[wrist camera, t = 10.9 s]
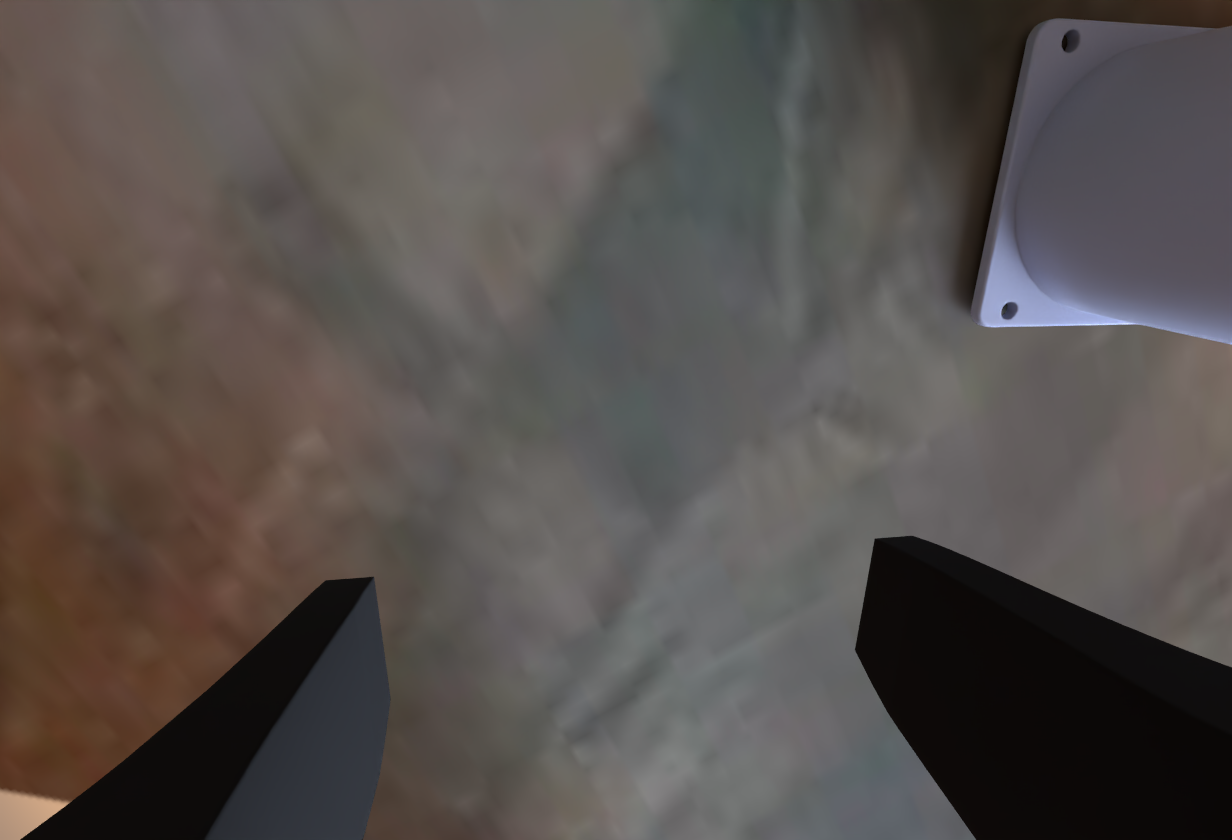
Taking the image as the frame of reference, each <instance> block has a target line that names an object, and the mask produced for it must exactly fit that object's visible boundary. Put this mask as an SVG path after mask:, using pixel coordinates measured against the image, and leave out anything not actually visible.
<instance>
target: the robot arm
mask: <svg viewBox="0 0 1232 840" xmlns="http://www.w3.org/2000/svg"><path fill="white" fill-rule="evenodd" d="M1064 35H1066V37H1067V39H1068V41H1067V47H1066V49H1065V51H1064V50H1063V48H1062V39H1063V37H1064ZM1006 303H1007V304H1008V308H1007V310H1006V313H1004V314H1003V315H1002V316H1001V310H1002V308H1003V306H1004V305H1005V304H1006ZM971 317H972V319H973V321H974V322H975V323H976V324H979V325H982V326H986V327H1024V326H1072V325H1121V324H1140V325H1145V326H1150V327H1154V328H1159V329H1163V330H1168V331H1172V332H1177V333H1181V334H1186V335H1191V336H1195V337H1200V338H1204V339H1209V340H1213V341H1218V342H1222V343H1227V344H1232V26H1228V27H1223V28H1219V29H1215V28H1200V27H1184V26H1169V25H1154V24H1138V23H1123V22H1108V21H1092V20H1077V19H1062V18H1056V19H1050V20H1047V21H1044V22H1041V23H1039V24H1038V25H1037V26H1035V27H1034V28H1033V30H1032V31H1031V32H1030V34H1029V36H1028V39H1027V42H1026V47H1025V52H1024V56H1023V61H1022V66H1021V71H1020V76H1019V80H1018V85H1017V90H1016V95H1015V100H1014V104H1013V109H1012V114H1011V119H1010V124H1009V129H1008V133H1007V138H1006V143H1005V148H1004V153H1003V157H1002V162H1001V167H1000V172H999V177H998V182H997V186H996V191H995V196H994V201H993V206H992V210H991V215H990V220H989V225H988V230H987V235H986V239H985V244H984V249H983V254H982V259H981V263H980V268H979V273H978V278H977V283H976V287H975V292H974V297H973V302H972V307H971ZM855 651H856V653H857V655H858V657H859V659H860V661H861V663H862V665H863V667H864V669H865V671H866V673H867V675H868V677H869V679H870V681H871V683H872V685H873V687H874V688H875V690H876V692H877V694H878V696H879V698H880V699H881V701H882V703H883V705H884V707H885V708H886V710H887V712H888V714H889V715H890V717H891V718H892V720H893V721H894V723H895V724H896V726H897V727H898V729H899V730H900V732H901V733H902V734H903V736H904V737H905V739H906V740H907V742H908V743H909V745H910V746H911V747H912V749H913V750H914V752H915V753H916V755H917V756H918V758H919V759H920V760H921V762H922V763H923V765H924V766H925V768H926V769H927V770H928V772H929V773H930V775H931V776H932V778H933V779H934V780H935V782H936V783H937V785H938V786H939V787H940V789H941V790H942V792H943V793H944V795H945V796H946V797H947V799H948V800H949V802H950V803H951V804H952V806H953V807H954V809H955V810H956V812H957V813H958V814H959V816H960V817H961V819H962V820H963V821H964V823H965V824H966V826H967V827H968V829H969V830H970V831H971V833H972V834H973V836H974V837H975V838H976V840H1232V667H1229V666H1226V665H1223V664H1221V663H1218V662H1215V661H1213V660H1210V659H1207V658H1205V657H1202V656H1199V655H1197V654H1194V653H1191V652H1189V651H1186V650H1184V649H1181V648H1179V647H1176V646H1174V645H1171V644H1169V643H1166V642H1164V641H1161V640H1159V639H1156V638H1154V637H1151V636H1149V635H1146V634H1144V633H1141V632H1139V631H1136V630H1134V629H1132V628H1129V627H1127V626H1124V625H1122V624H1119V623H1117V622H1115V621H1112V620H1110V619H1107V618H1105V617H1103V616H1100V615H1098V614H1096V613H1093V612H1091V611H1089V610H1086V609H1084V608H1082V607H1079V606H1077V605H1075V604H1073V603H1070V602H1068V601H1066V600H1063V599H1061V598H1059V597H1057V596H1054V595H1052V594H1050V593H1048V592H1045V591H1043V590H1041V589H1039V588H1036V587H1034V586H1032V585H1030V584H1027V583H1025V582H1023V581H1021V580H1018V579H1016V578H1014V577H1012V576H1009V575H1007V574H1005V573H1003V572H1000V571H998V570H996V569H994V568H991V567H989V566H987V565H985V564H982V563H980V562H978V561H976V560H973V559H971V558H969V557H966V556H964V555H962V554H959V553H957V552H954V551H952V550H950V549H947V548H945V547H942V546H940V545H937V544H934V543H932V542H929V541H926V540H923V539H920V538H917V537H914V536H904V537H891V538H878V539H875V541H874V546H873V552H872V558H871V563H870V569H869V574H868V580H867V586H866V591H865V597H864V603H863V608H862V614H861V620H860V625H859V631H858V636H857V642H856V648H855ZM389 706H390V691H389V684H388V677H387V669H386V662H385V655H384V647H383V640H382V633H381V625H380V618H379V610H378V603H377V596H376V588H375V581H374V577H366V578H353V579H339V580H326V581H325V582H323V583H322V584H321V585H320V586H319V587H318V588H317V589H316V590H314V591H313V592H312V593H311V594H310V595H309V596H308V597H307V598H306V599H305V600H304V601H303V602H302V603H301V604H299V605H298V606H297V607H296V608H295V609H294V610H293V611H292V612H291V613H290V614H289V615H288V616H287V617H286V618H285V619H284V620H283V621H282V622H281V623H280V624H278V625H277V626H276V627H275V628H274V629H273V630H272V631H271V632H270V633H269V634H268V635H267V636H266V637H265V638H264V639H263V640H262V641H260V642H259V643H258V644H257V645H256V646H255V647H254V648H253V649H252V650H251V651H250V652H248V653H247V654H246V655H245V656H244V657H243V658H242V659H241V660H240V661H239V662H238V663H236V664H235V665H234V666H233V667H232V668H231V669H230V670H229V671H228V672H227V673H226V674H224V675H223V676H222V677H221V678H220V679H219V680H218V681H217V682H216V683H215V684H214V685H212V686H211V687H210V688H209V689H208V690H207V691H206V692H204V693H203V694H202V695H201V696H200V697H199V698H197V699H196V700H195V701H194V702H193V703H191V704H190V705H189V706H188V707H187V708H186V709H184V710H183V711H182V712H181V713H180V714H178V715H177V716H176V717H175V718H174V719H173V720H171V721H170V722H169V723H168V724H167V725H165V726H164V727H163V728H162V729H161V730H160V731H158V732H157V733H156V734H155V735H154V736H152V737H151V738H150V739H149V740H148V741H147V742H145V743H144V744H143V745H142V746H141V747H139V748H138V749H137V750H136V751H135V752H134V753H132V754H131V755H130V756H129V757H128V758H126V759H125V760H124V761H123V762H122V763H120V764H119V765H118V766H117V767H115V768H114V769H113V770H112V771H110V772H109V773H108V774H106V775H105V776H104V777H103V778H101V779H100V780H99V781H98V782H96V783H95V784H94V785H92V786H91V787H90V788H89V789H87V790H86V791H85V792H83V793H82V794H81V795H80V796H78V797H77V798H76V799H74V800H73V801H72V802H70V803H69V804H68V805H67V806H65V807H64V808H63V809H61V810H60V811H59V812H57V813H56V814H54V815H53V816H52V817H50V818H49V819H48V820H46V821H45V822H44V823H42V824H41V825H39V826H38V827H37V828H36V829H34V830H33V831H31V832H30V833H29V834H27V835H26V836H25V837H23V838H22V839H21V840H363V837H364V833H365V829H366V826H367V822H368V818H369V814H370V810H371V806H372V803H373V799H374V795H375V791H376V787H377V783H378V779H379V775H380V769H381V762H382V756H383V749H384V743H385V736H386V728H387V721H388V714H389Z"/></svg>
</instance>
